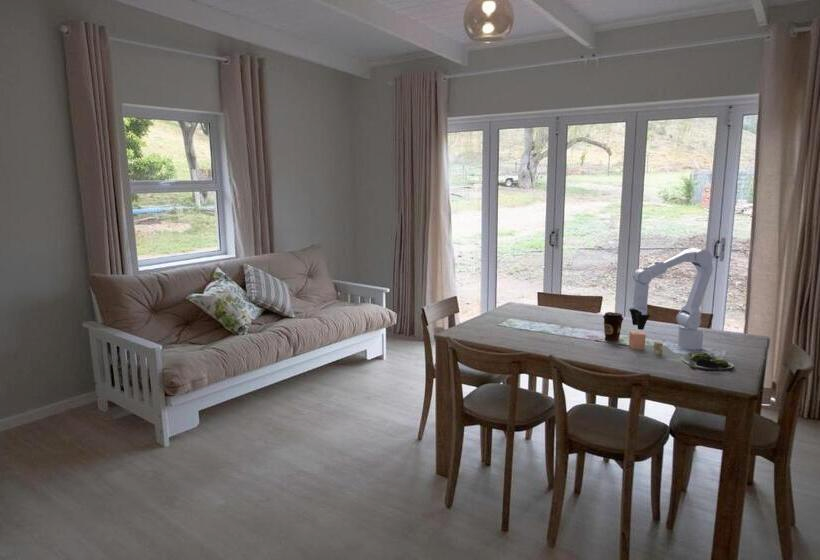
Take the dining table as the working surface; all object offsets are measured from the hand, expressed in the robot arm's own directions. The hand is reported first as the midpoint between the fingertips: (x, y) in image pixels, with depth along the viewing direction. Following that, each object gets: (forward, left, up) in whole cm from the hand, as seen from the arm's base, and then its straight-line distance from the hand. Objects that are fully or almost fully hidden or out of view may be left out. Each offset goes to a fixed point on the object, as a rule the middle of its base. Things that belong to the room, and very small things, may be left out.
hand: (638, 327), depth 242 cm
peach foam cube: (0, 0, -9) cm, 9 cm away
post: (-6, +9, -9) cm, 14 cm away
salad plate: (-21, +21, -10) cm, 31 cm away
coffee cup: (+8, -11, -10) cm, 17 cm away
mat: (-5, +5, -10) cm, 12 cm away
